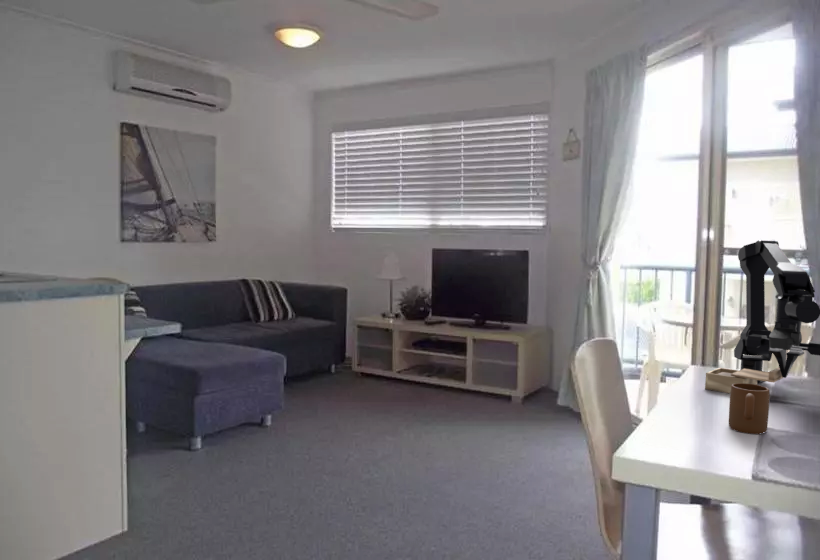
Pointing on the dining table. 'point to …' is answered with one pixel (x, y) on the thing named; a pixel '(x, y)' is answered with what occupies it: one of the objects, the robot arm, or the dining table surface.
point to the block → (726, 374)
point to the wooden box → (724, 380)
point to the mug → (749, 408)
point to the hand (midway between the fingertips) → (784, 377)
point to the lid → (759, 375)
